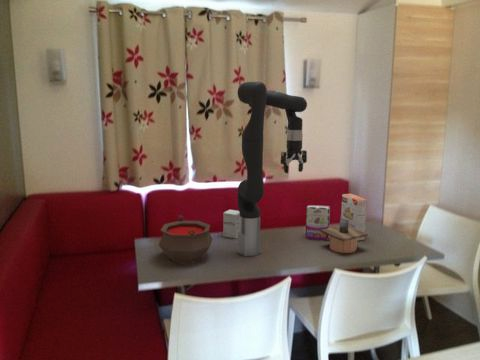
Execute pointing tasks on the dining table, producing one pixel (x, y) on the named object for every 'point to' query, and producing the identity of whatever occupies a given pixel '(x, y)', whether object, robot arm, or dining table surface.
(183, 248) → the brown cooking pot
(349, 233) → the walnut lid
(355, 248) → the terracotta bowl
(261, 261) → the dining table surface
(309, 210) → the candy bar box
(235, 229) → the supplement box
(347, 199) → the cracker box
